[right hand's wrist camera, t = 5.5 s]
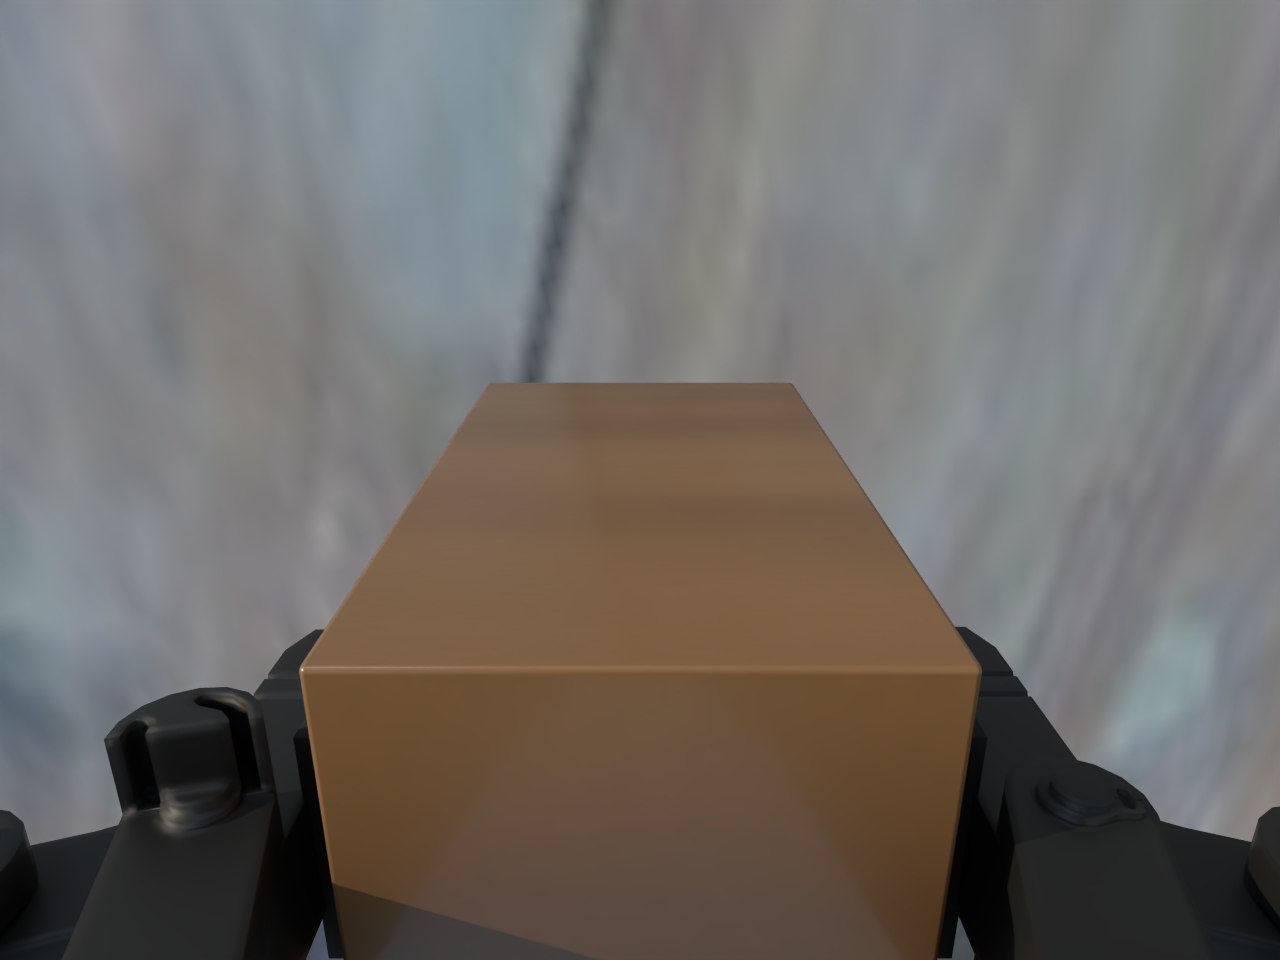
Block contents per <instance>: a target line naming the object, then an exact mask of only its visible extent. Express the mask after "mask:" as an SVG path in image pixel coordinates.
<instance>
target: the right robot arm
mask: <svg viewBox="0 0 1280 960" xmlns="http://www.w3.org/2000/svg"><path fill="white" fill-rule="evenodd" d="M955 628H956V629H957V631H958V632H959V634H960V635H961V637H962V638H963V640H964V641H965V643H966V644H967V646H968V647H969V649H970V650H971V652H972V653H973V655H974V656H975V658H976V659H977V661H978V662H979V664H980V665H981V669H982V676H981V683H980V689H979V695H978V702H977V708H976V715H975V721H974V727H973V734H972V740H971V747H970V753H969V759H968V766H967V772H966V779H965V785H964V791H963V798H962V804H961V810H960V817H959V823H958V830H957V836H956V842H955V849H954V855H953V862H952V868H951V874H950V881H949V887H948V894H947V900H946V906H945V913H944V919H943V926H942V932H941V938H940V945H939V951H938V958H952V953H953V947H954V940H955V934H956V928H957V922H958V916H959V918H960V920H961V922H962V925H963V927H964V930H965V932H966V934H967V937H968V939H969V942H970V944H971V946H972V949H973V951H974V953H975V956H974V960H1280V807H1273V808H1271V809H1270V810H1269V811H1267V812H1266V813H1265V814H1264V815H1263V816H1261V817H1260V818H1259V820H1258V823H1257V826H1256V830H1255V833H1254V836H1253V839H1252V842H1248V841H1244V840H1239V839H1235V838H1230V837H1225V836H1221V835H1216V834H1211V833H1207V832H1202V831H1198V830H1193V829H1188V828H1184V827H1180V826H1177V825H1173V824H1170V823H1166V822H1163V821H1160V819H1159V816H1158V814H1157V812H1156V811H1155V809H1154V808H1153V807H1152V805H1151V804H1150V802H1149V801H1148V800H1147V798H1146V797H1145V795H1144V794H1143V793H1141V792H1140V791H1139V790H1137V789H1136V788H1135V787H1133V786H1132V785H1131V784H1130V783H1128V782H1127V781H1126V780H1124V779H1123V778H1122V777H1120V776H1118V775H1115V774H1113V773H1111V772H1109V771H1107V770H1105V769H1103V768H1100V767H1098V766H1096V765H1094V764H1090V763H1086V762H1082V761H1078V760H1077V759H1076V758H1075V757H1074V755H1073V754H1072V752H1071V751H1070V750H1069V748H1068V747H1067V746H1066V744H1065V743H1064V741H1063V740H1062V739H1061V737H1060V736H1059V734H1058V733H1057V732H1056V730H1055V729H1054V728H1053V726H1052V725H1051V723H1050V722H1049V721H1048V719H1047V718H1046V716H1045V715H1044V714H1043V712H1042V711H1041V710H1040V708H1039V707H1038V705H1037V704H1036V703H1035V701H1034V700H1033V698H1032V697H1028V695H1027V690H1026V689H1025V687H1024V686H1023V685H1022V683H1021V682H1020V680H1019V679H1018V678H1017V676H1013V671H1012V669H1011V668H1010V667H1009V665H1008V664H1007V662H1006V661H1005V660H1004V658H1003V657H1002V656H1001V654H1000V653H999V651H998V650H997V649H996V647H994V646H993V645H991V644H990V643H988V642H987V641H985V640H984V639H982V638H981V637H979V636H978V635H976V634H975V633H973V632H972V631H971V630H969V629H968V628H966V627H955ZM323 631H324V630H315V631H313V632H312V633H310V634H309V635H307V636H306V637H304V638H303V639H301V640H300V641H298V642H297V643H295V644H294V645H292V646H291V647H289V648H288V649H287V650H285V651H284V653H283V654H282V656H281V657H280V658H279V660H278V661H277V663H276V664H275V665H274V667H273V668H272V670H271V671H270V672H269V674H268V679H264V681H263V682H262V684H261V685H260V686H259V688H258V689H257V691H256V692H255V693H254V696H252V695H251V694H250V693H249V692H245V691H241V690H237V689H233V688H228V687H218V688H198V689H194V690H189V691H184V692H180V693H175V694H171V695H168V696H166V697H163V698H161V699H159V700H156V701H154V702H151V703H149V704H146V705H144V706H142V707H140V708H139V709H137V710H136V711H134V712H133V713H131V714H130V715H128V716H127V717H125V718H124V719H122V720H121V721H119V722H118V723H117V724H116V726H115V727H114V728H113V729H112V730H111V732H110V733H109V734H108V735H107V736H106V738H105V739H104V742H105V746H106V750H107V754H108V757H109V761H110V765H111V769H112V773H113V777H114V781H115V785H116V789H117V793H118V797H119V801H120V805H121V809H122V813H123V815H122V818H121V820H120V822H119V825H117V826H114V827H110V828H107V829H103V830H100V831H96V832H91V833H86V834H82V835H77V836H73V837H68V838H63V839H59V840H54V841H50V842H45V843H40V844H36V845H31V846H30V843H29V840H28V837H27V834H26V830H25V827H24V824H23V822H22V821H21V820H20V819H18V818H17V817H16V816H15V815H14V814H12V813H11V812H10V811H4V810H0V960H306V957H307V955H308V952H309V950H310V947H311V945H312V943H313V940H314V938H315V935H316V933H317V931H318V928H319V926H320V923H321V921H322V919H323V925H324V931H325V937H326V943H327V949H328V955H329V958H344V957H343V951H342V944H341V938H340V931H339V925H338V918H337V912H336V906H335V899H334V893H333V886H332V880H331V873H330V867H329V861H328V854H327V848H326V841H325V835H324V828H323V822H322V816H321V809H320V803H319V796H318V790H317V783H316V777H315V771H314V764H313V758H312V751H311V745H310V738H309V732H308V726H307V719H306V713H305V706H304V700H303V693H302V687H301V680H300V674H299V669H300V666H301V664H302V663H303V661H304V660H305V658H306V657H307V655H308V654H309V652H310V651H311V649H312V648H313V646H314V645H315V643H316V642H317V640H318V639H319V637H320V636H321V634H322V633H323Z"/></svg>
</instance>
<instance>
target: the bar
mask: <svg viewBox="0 0 1280 960" xmlns="http://www.w3.org/2000/svg"><path fill="white" fill-rule="evenodd" d="M299 674H300V680H301V687H302V693H303V700H304V706H305V713H306V719H307V726H308V732H309V738H310V745H311V751H312V758H313V764H314V771H315V777H316V783H317V790H318V796H319V803H320V809H321V816H322V822H323V828H324V835H325V841H326V848H327V854H328V861H329V867H330V873H331V880H332V886H333V893H334V899H335V906H336V912H337V918H338V925H339V931H340V938H341V944H342V951H343V957H344V960H937V958H938V951H939V945H940V938H941V932H942V926H943V919H944V913H945V906H946V900H947V894H948V887H949V881H950V874H951V868H952V862H953V855H954V849H955V842H956V836H957V830H958V823H959V817H960V810H961V804H962V798H963V791H964V785H965V779H966V772H967V766H968V759H969V753H970V747H971V740H972V734H973V727H974V721H975V715H976V708H977V702H978V695H979V689H980V683H981V676H982V669H981V665H980V664H979V662H978V661H977V659H976V658H975V656H974V655H973V653H972V652H971V650H970V649H969V647H968V646H967V644H966V643H965V641H964V640H963V638H962V637H961V635H960V634H959V632H958V631H957V629H956V628H955V626H954V625H953V623H952V622H951V620H950V619H949V617H948V616H947V614H946V613H945V611H944V610H943V609H942V607H941V606H940V604H939V603H938V601H937V600H936V598H935V597H934V595H933V594H932V592H931V591H930V589H929V588H928V586H927V585H926V583H925V582H924V580H923V579H922V577H921V576H920V574H919V573H918V571H917V570H916V568H915V567H914V565H913V564H912V562H911V561H910V559H909V558H908V556H907V555H906V553H905V552H904V550H903V549H902V547H901V546H900V544H899V543H898V541H897V540H896V538H895V537H894V535H893V534H892V532H891V531H890V529H889V528H888V526H887V525H886V523H885V522H884V520H883V519H882V517H881V516H880V514H879V513H878V511H877V510H876V508H875V507H874V505H873V504H872V502H871V501H870V499H869V498H868V496H867V495H866V493H865V492H864V490H863V489H862V487H861V486H860V484H859V483H858V481H857V480H856V478H855V477H854V475H853V474H852V472H851V471H850V469H849V468H848V466H847V465H846V463H845V462H844V460H843V459H842V457H841V456H840V454H839V453H838V451H837V450H836V448H835V447H834V445H833V444H832V442H831V441H830V439H829V438H828V436H827V435H826V433H825V432H824V430H823V429H822V427H821V426H820V424H819V423H818V421H817V420H816V418H815V417H814V415H813V414H812V412H811V411H810V410H809V408H808V407H807V405H806V404H805V402H804V401H803V399H802V398H801V396H800V395H799V393H798V392H797V390H796V389H795V387H794V386H793V384H791V383H489V384H488V385H487V386H486V388H485V389H484V391H483V392H482V394H481V395H480V397H479V398H478V400H477V401H476V403H475V404H474V406H473V407H472V409H471V410H470V412H469V413H468V415H467V416H466V418H465V419H464V421H463V422H462V424H461V425H460V427H459V428H458V430H457V431H456V433H455V434H454V436H453V437H452V439H451V440H450V442H449V443H448V445H447V446H446V448H445V449H444V451H443V452H442V454H441V455H440V457H439V458H438V460H437V461H436V463H435V464H434V466H433V467H432V469H431V470H430V472H429V473H428V475H427V476H426V478H425V479H424V481H423V482H422V484H421V485H420V487H419V488H418V490H417V491H416V493H415V495H414V496H413V498H412V499H411V501H410V502H409V504H408V505H407V507H406V508H405V510H404V511H403V513H402V514H401V516H400V517H399V519H398V520H397V522H396V523H395V525H394V526H393V528H392V529H391V531H390V532H389V534H388V535H387V537H386V538H385V540H384V541H383V543H382V544H381V546H380V547H379V549H378V550H377V552H376V553H375V555H374V556H373V558H372V559H371V561H370V562H369V564H368V565H367V567H366V568H365V570H364V571H363V573H362V574H361V576H360V577H359V579H358V580H357V582H356V583H355V585H354V586H353V588H352V589H351V591H350V592H349V594H348V595H347V597H346V598H345V600H344V601H343V603H342V604H341V606H340V607H339V609H338V610H337V612H336V613H335V615H334V616H333V618H332V619H331V621H330V622H329V624H328V625H327V627H326V628H325V630H324V631H323V633H322V634H321V636H320V637H319V639H318V640H317V642H316V643H315V645H314V646H313V648H312V649H311V651H310V652H309V654H308V655H307V657H306V658H305V660H304V661H303V663H302V664H301V666H300V669H299Z"/></svg>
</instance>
